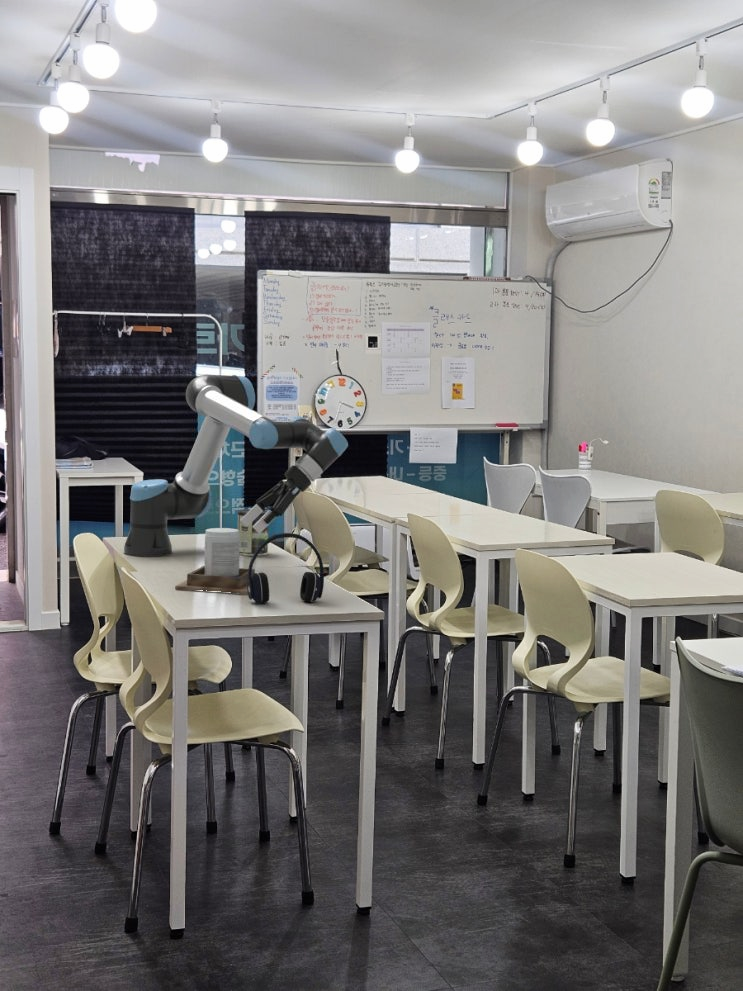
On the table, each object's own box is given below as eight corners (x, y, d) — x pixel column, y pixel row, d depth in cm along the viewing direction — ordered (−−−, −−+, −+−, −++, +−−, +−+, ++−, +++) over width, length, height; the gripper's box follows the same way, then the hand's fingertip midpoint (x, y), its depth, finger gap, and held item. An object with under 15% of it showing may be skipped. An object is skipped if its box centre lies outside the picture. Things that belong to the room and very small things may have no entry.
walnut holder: (175, 589, 319) (175, 575, 319) (197, 577, 339) (198, 563, 339) (246, 594, 316) (247, 580, 316) (265, 582, 336) (265, 568, 336)
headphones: (318, 599, 315) (320, 531, 313) (325, 604, 308) (327, 535, 307) (244, 600, 309) (246, 531, 307) (250, 606, 302) (252, 535, 300)
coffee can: (269, 552, 392) (270, 510, 390) (265, 556, 382) (267, 513, 380) (238, 550, 392) (239, 508, 391) (234, 555, 382) (235, 512, 380)
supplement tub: (245, 582, 329) (247, 530, 327) (222, 586, 321) (224, 533, 320) (220, 577, 335) (221, 526, 333) (196, 581, 327) (198, 529, 325)
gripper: (325, 487, 321) (270, 542, 318) (298, 478, 345) (247, 529, 341) (307, 468, 319) (251, 523, 315) (281, 460, 342) (229, 511, 338)
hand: (249, 527), depth 328 cm, fingers open, 13 cm apart
